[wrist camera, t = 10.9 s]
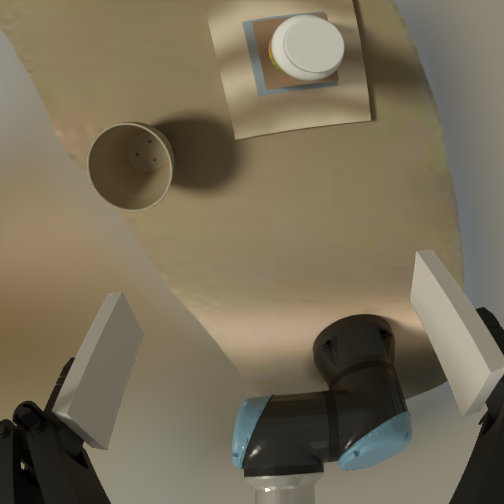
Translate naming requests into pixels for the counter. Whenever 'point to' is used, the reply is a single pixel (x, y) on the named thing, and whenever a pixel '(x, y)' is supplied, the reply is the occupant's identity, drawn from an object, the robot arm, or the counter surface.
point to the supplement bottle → (306, 48)
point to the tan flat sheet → (292, 97)
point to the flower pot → (131, 166)
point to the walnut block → (270, 72)
